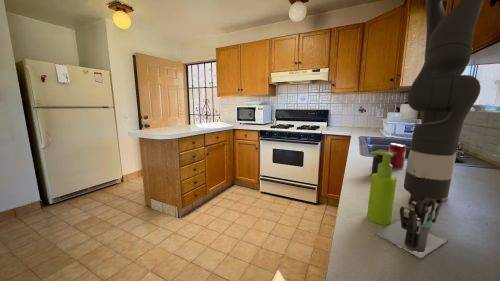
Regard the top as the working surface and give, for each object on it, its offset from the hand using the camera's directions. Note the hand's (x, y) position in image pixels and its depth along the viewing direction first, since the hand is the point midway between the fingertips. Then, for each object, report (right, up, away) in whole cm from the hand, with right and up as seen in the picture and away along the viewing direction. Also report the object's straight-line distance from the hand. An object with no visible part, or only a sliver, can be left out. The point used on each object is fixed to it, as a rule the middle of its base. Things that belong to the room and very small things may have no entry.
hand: (415, 242), depth 48 cm
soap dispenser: (-1, 0, +13) cm, 13 cm away
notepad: (+2, -1, +4) cm, 5 cm away
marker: (0, -1, 0) cm, 1 cm away
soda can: (+37, +9, +61) cm, 72 cm away
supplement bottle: (+22, +7, +48) cm, 53 cm away
